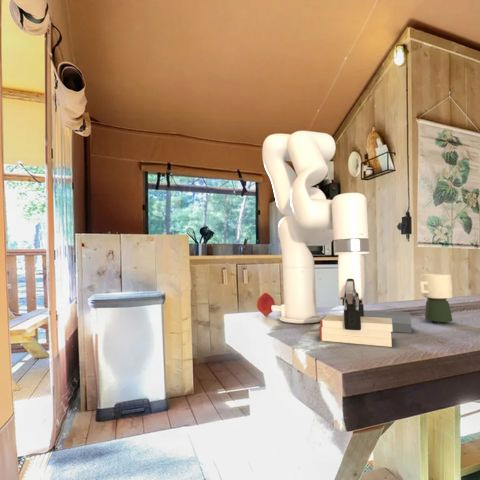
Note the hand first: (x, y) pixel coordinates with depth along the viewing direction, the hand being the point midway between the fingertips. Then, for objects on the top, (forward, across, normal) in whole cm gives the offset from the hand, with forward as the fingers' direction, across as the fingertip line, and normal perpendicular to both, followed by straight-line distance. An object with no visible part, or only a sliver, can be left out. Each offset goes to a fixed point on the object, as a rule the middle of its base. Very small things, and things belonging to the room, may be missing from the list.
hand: (355, 325), depth 68 cm
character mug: (+3, -26, +19) cm, 32 cm away
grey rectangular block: (+3, -13, +5) cm, 14 cm away
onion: (+3, -21, -29) cm, 36 cm away
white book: (0, +1, 0) cm, 1 cm away
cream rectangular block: (+3, 0, 0) cm, 3 cm away
